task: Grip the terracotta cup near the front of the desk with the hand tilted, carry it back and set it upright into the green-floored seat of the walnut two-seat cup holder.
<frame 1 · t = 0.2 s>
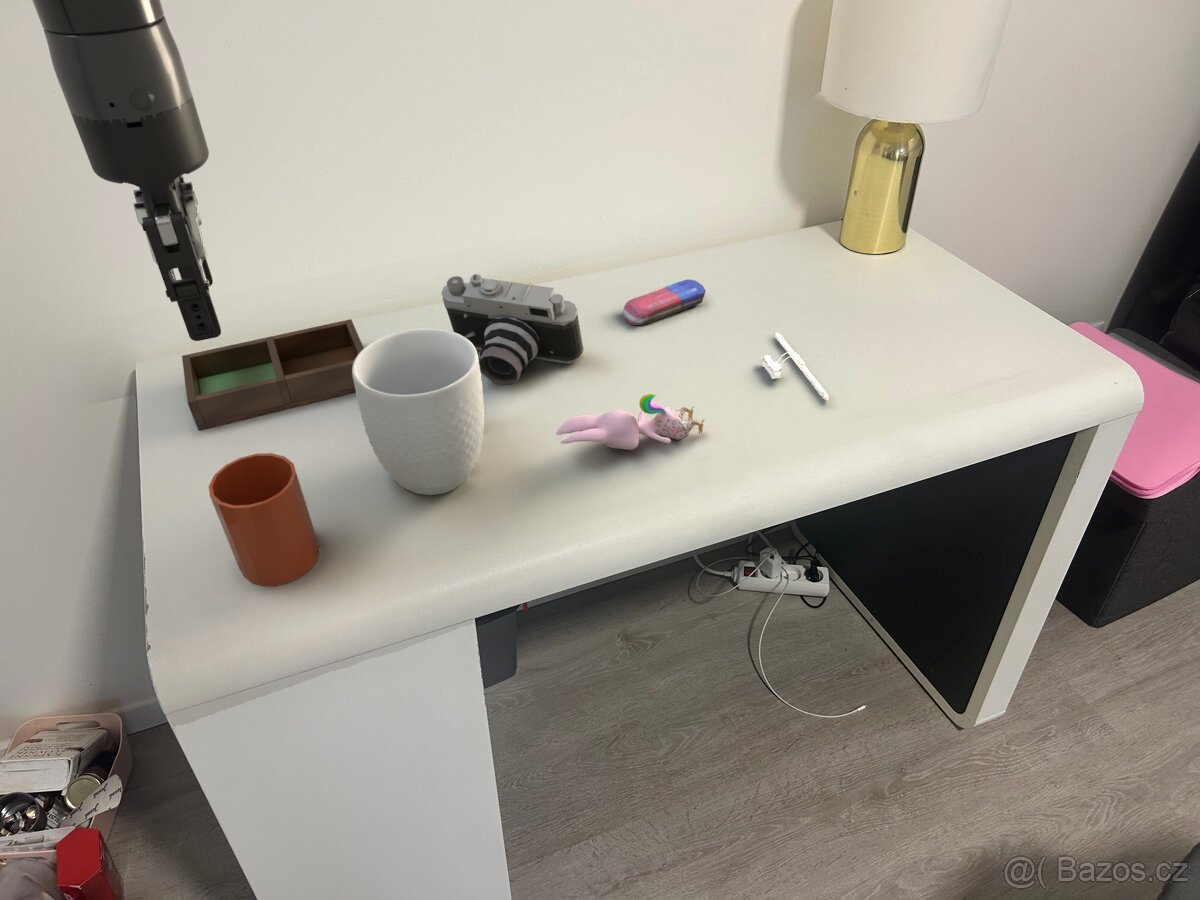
hand: (203, 310, 66), 20 cm above the table, tool pointing down, fingers open, 8 cm apart
mug: (440, 468, 83), on the table
camera: (508, 367, 97), on the table
picture light: (785, 371, 95), on the table
rabbit figure: (630, 444, 85), on the table
cup: (280, 557, 73), on the table
holder: (283, 385, 94), on the table
eraser: (663, 310, 106), on the table
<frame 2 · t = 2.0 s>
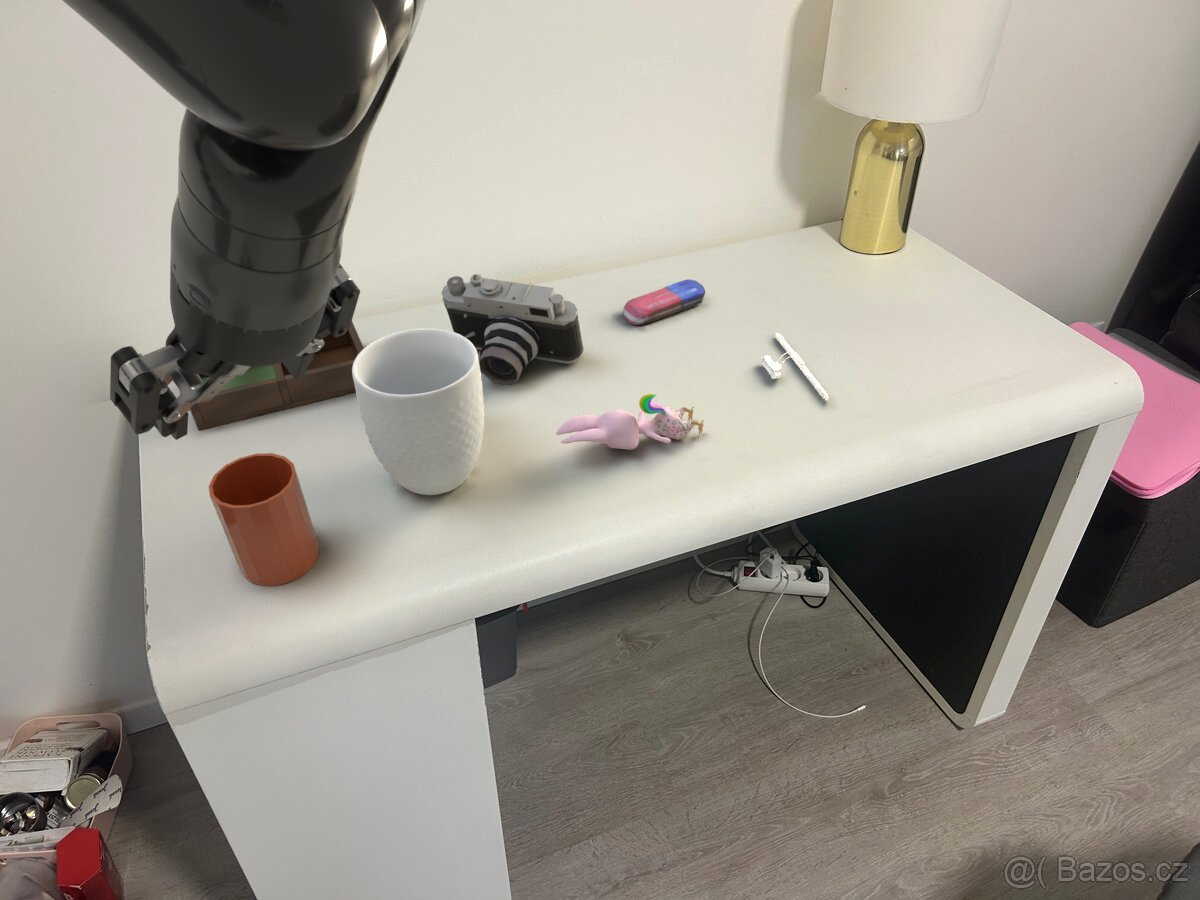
hand: (233, 394, 55), 22 cm above the table, tool tilted 35°, fingers open, 8 cm apart
nothing on the table moved.
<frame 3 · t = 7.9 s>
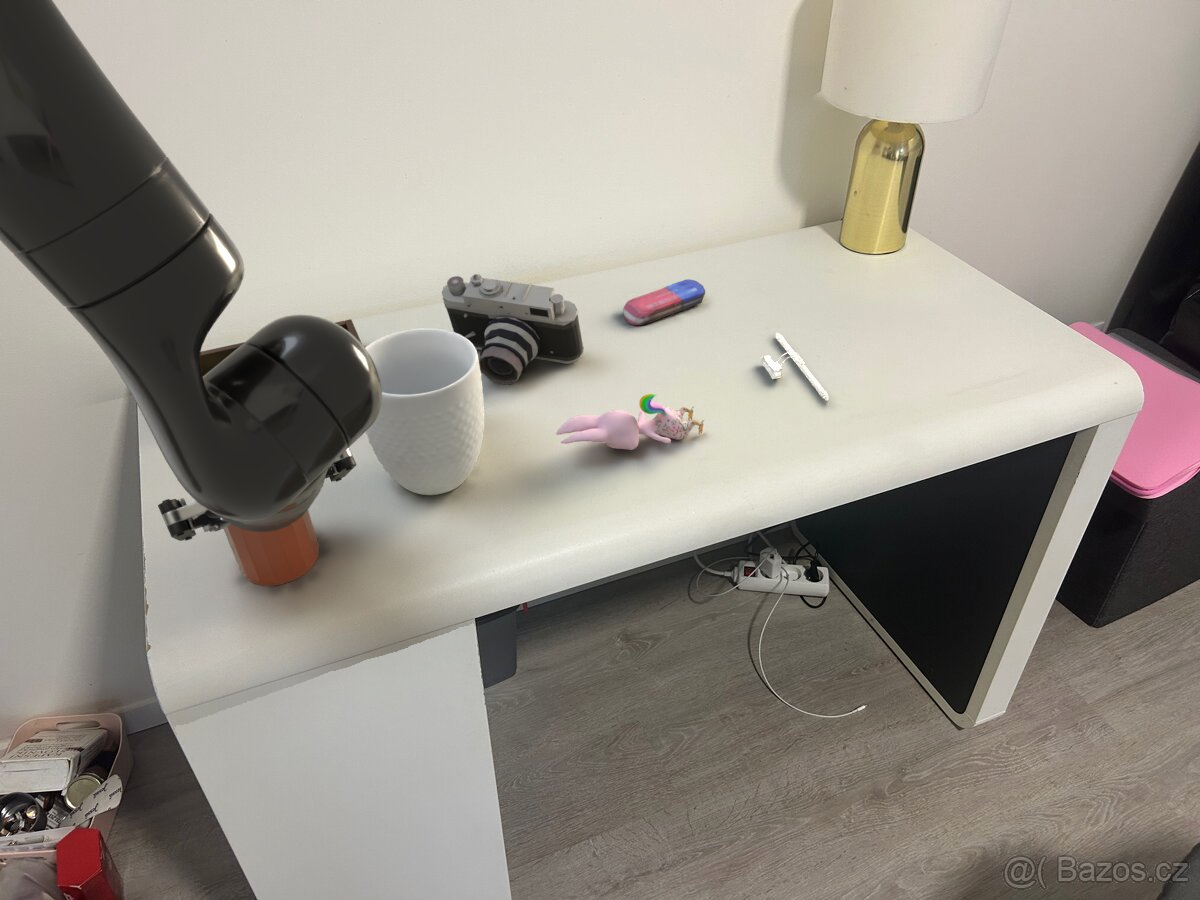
hand: (258, 501, 71), 5 cm above the table, tool tilted 45°, fingers closed on cup, 6 cm apart
cup: (280, 557, 73), on the table, touching gripper
everything else where it was.
when the fingers open (6 cm above the table, at t = 17.1 s): cup stays where it is, resting on holder.
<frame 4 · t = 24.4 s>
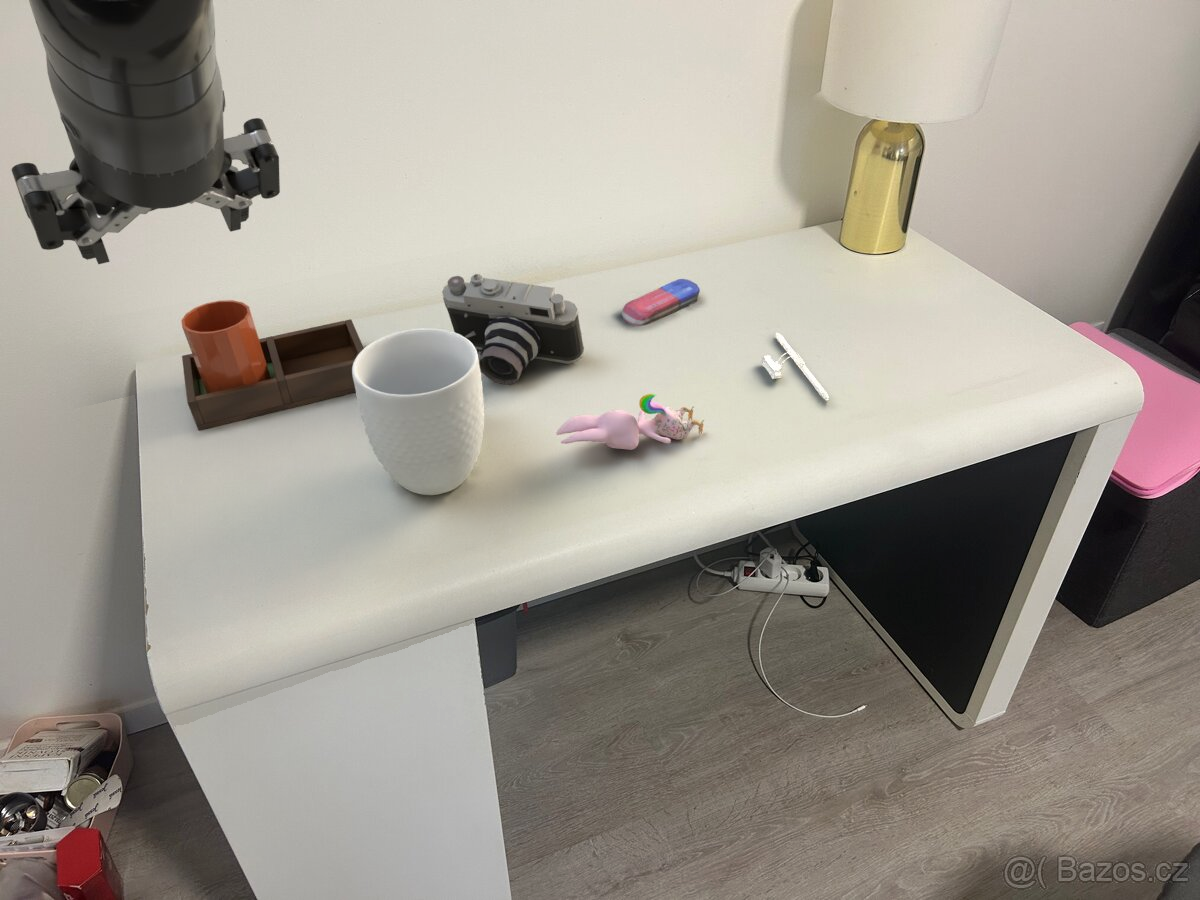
hand: (165, 233, 58), 29 cm above the table, tool tilted 45°, fingers open, 8 cm apart
cup: (240, 388, 92), point 1 cm above the table, touching holder
at the end: cup 0.1 cm from the target spot in the holder, point 0.8 cm above the holder's base; cup tilted 0°; the gripper is holding nothing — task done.
